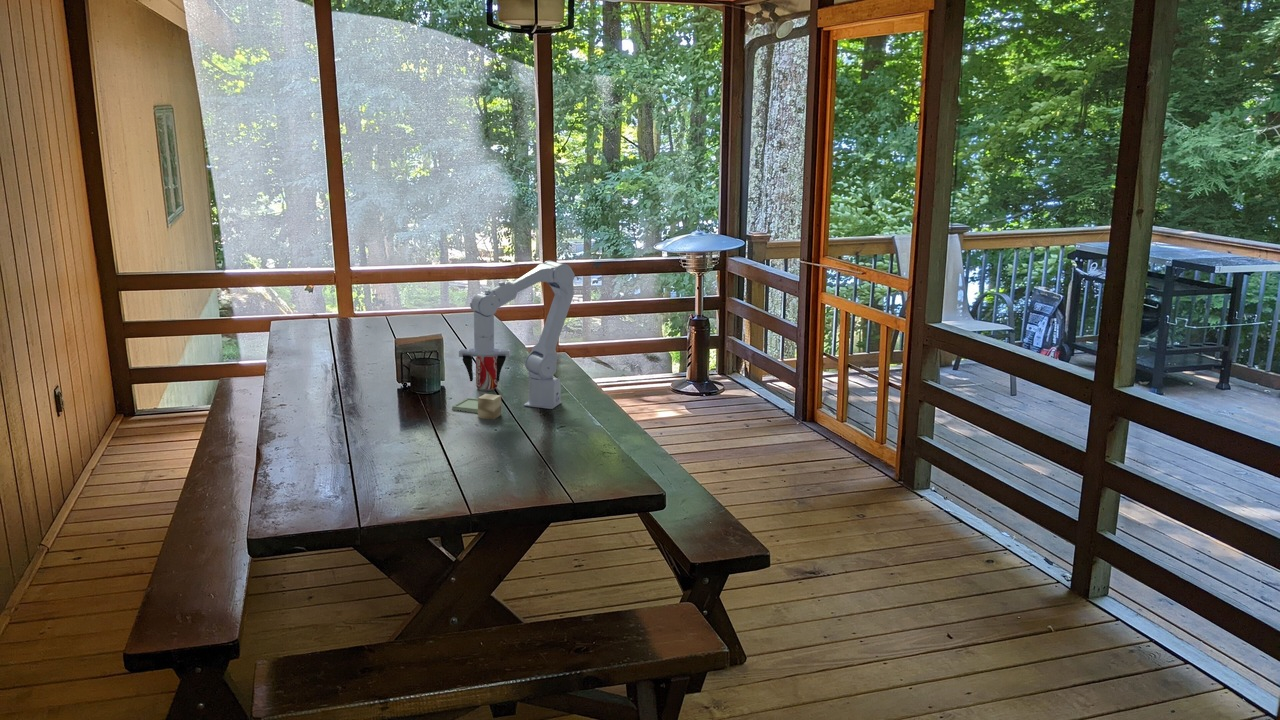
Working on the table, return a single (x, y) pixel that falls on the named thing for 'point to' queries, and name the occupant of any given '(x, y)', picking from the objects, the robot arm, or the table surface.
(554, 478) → the table surface
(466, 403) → the tray
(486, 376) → the soda can
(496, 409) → the maple block
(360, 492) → the table surface
